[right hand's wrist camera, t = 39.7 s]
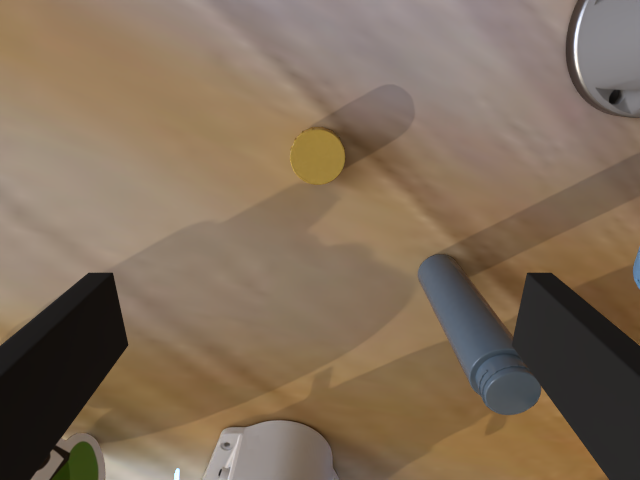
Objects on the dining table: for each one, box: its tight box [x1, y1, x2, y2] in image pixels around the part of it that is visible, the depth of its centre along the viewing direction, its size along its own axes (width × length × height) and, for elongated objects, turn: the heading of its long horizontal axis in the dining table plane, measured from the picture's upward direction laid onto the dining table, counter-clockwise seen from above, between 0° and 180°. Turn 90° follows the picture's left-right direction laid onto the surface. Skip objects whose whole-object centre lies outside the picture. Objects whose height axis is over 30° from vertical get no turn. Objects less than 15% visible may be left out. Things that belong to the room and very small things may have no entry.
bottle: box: [418, 254, 541, 415], centre depth 37 cm, size 5×5×19 cm
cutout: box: [31, 433, 106, 480], centre depth 47 cm, size 15×3×25 cm
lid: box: [290, 127, 346, 185], centre depth 40 cm, size 6×6×2 cm
